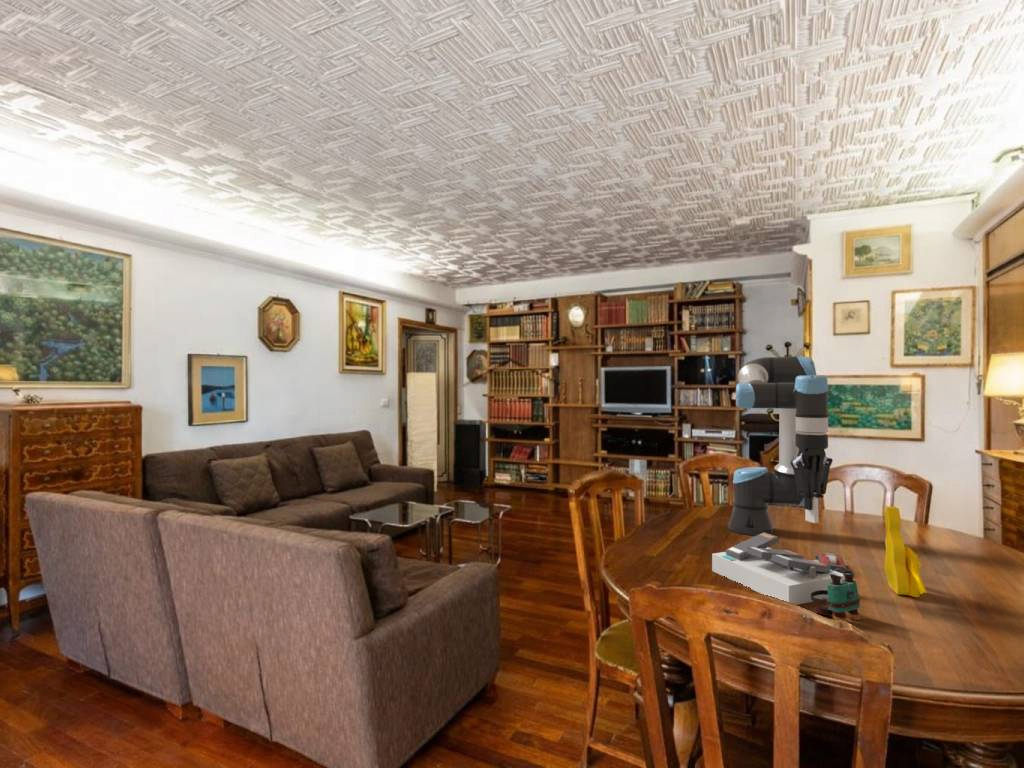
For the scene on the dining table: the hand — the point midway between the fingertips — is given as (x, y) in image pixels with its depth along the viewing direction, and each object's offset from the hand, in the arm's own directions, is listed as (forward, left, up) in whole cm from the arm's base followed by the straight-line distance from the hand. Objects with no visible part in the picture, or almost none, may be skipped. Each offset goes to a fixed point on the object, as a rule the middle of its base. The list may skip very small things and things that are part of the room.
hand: (811, 521), depth 137 cm
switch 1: (+6, -14, -10) cm, 19 cm away
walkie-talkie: (-15, -7, -18) cm, 25 cm away
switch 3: (+6, +2, -10) cm, 12 cm away
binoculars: (+10, +14, -18) cm, 25 cm away
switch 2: (+6, -6, -10) cm, 13 cm away
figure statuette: (-19, +11, -18) cm, 28 cm away
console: (+6, -6, -18) cm, 20 cm away
